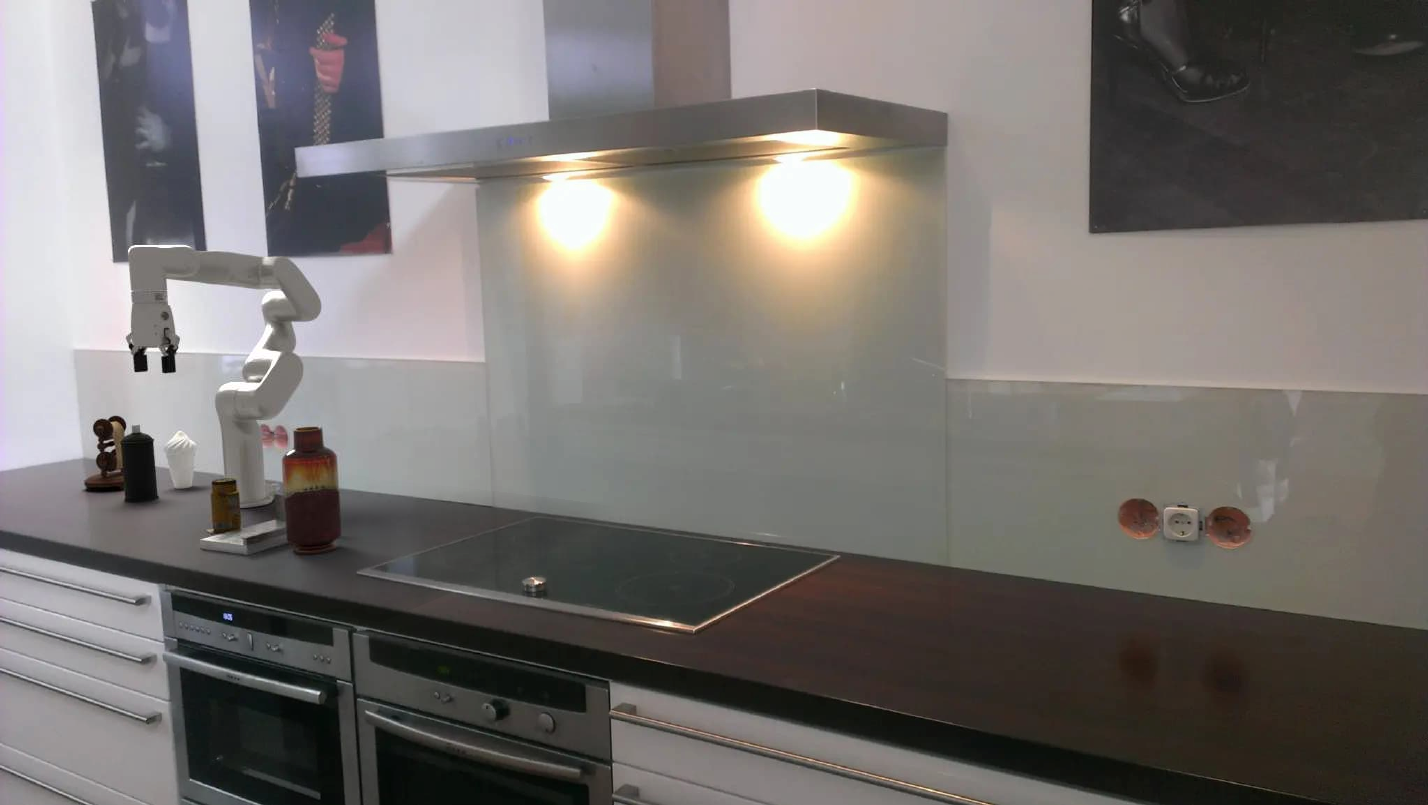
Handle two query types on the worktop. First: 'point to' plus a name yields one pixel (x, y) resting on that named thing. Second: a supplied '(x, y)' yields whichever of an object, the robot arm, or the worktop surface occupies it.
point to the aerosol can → (138, 466)
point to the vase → (311, 493)
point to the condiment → (225, 506)
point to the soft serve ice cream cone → (181, 459)
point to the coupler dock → (252, 534)
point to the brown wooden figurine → (108, 453)
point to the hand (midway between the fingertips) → (155, 372)
